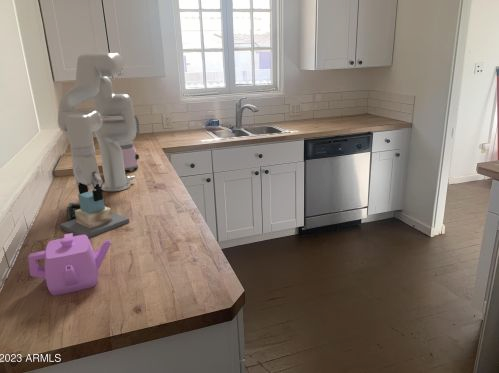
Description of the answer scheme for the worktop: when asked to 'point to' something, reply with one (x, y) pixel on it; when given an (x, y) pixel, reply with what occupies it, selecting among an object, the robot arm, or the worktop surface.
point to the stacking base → (96, 229)
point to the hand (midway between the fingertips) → (91, 197)
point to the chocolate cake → (72, 211)
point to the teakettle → (68, 264)
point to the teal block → (90, 203)
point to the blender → (128, 148)
